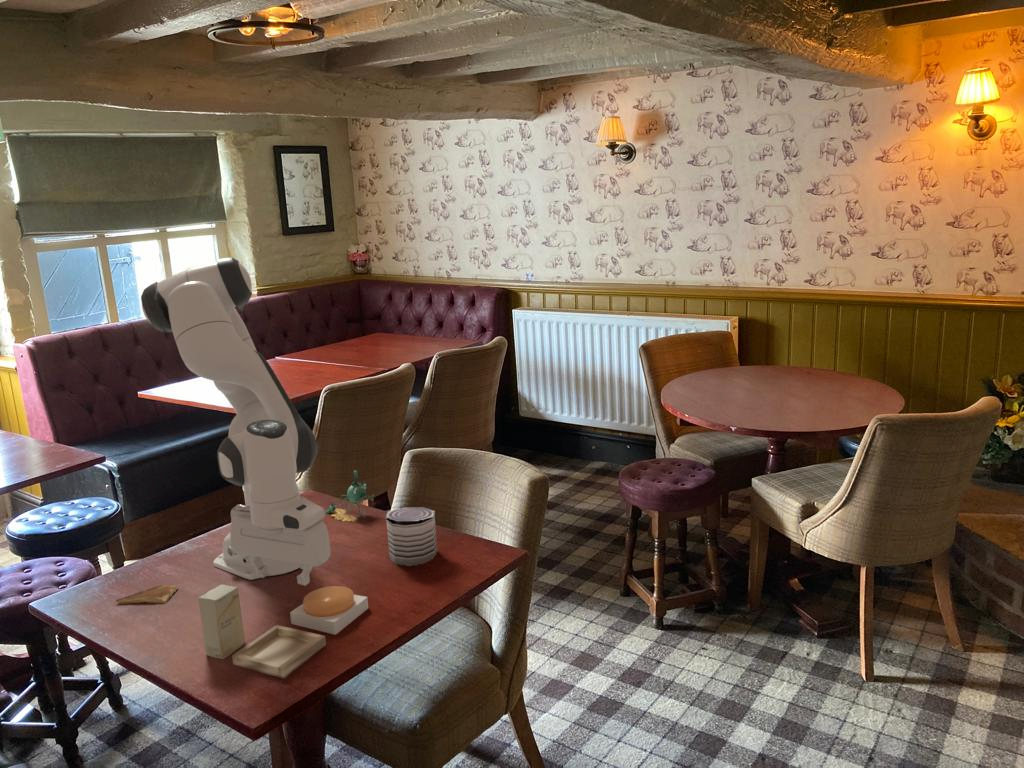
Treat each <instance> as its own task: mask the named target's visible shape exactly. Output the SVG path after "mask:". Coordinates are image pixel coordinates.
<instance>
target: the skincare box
mask: <svg viewBox="0 0 1024 768" xmlns="http://www.w3.org/2000/svg"><path fill="white" fill-rule="evenodd" d="M197 600H198V604H199V611H200V612H199V613H200V618H201V619H200V620H201V626H202V633H203V642H204V648H205V655H206V656H208V657H212V658H216V659H220V660H224V659H225V658H227V657H229V656H230V655H232V653H234V652H235V651H237V650H238V649H239V648H241V647H242V646H243V645H245V643H246V640H245V633H244V623H243V619H242V618H243V616H242V609H241V601H240V595H239V587H238V586H234V585H231V584H230V585H229V584H224V583H221V584H219V585H217V586H216V587H214V588H212V589H210V590H208V591H207V592H205V593H204V594H202V595H200V596H198V599H197Z"/></svg>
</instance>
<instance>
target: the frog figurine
mask: <svg viewBox="0 0 1024 768" xmlns="http://www.w3.org/2000/svg"><path fill="white" fill-rule="evenodd" d="M353 478H354V481H353V482H352V483H351V485H350V486H349V487H348V489H347V492H346V493H347V494H342V495H340V501H339V504H338V506H339V507H342V504H341V503H342V501H343V502H344V504H345V506H346V509H342V508H337V505H336V504H334V501H333V500H331V505H328V507H326V509H324V511H325V514H331V516H332V517H334V519H335V520H337V521H341V522H353V523H356V522H355V521H357V520H358V517H356V516H354V515H349V514H348V511H350V506H351V505H353V506H356V507H357V509H358V512H359V517H361V515H362V518H363V519H366V518H367V517H366V516H364V513H363V510H362V508H361V506H360V505H359V503H360V502H363V500H365V498H367V499H369V500H371V501H372V502H374V497H375V495H374V494H371V495H369V492H366V489H367V487H368V485H367V483H368V482H367V481H366V480H363V485H362V483H361V482H360V481H359V474H358V471H357V470H354V471H353ZM343 497H345V498H343ZM370 497H372V498H370ZM346 500H347V501H349V504H348V505H347V503H346ZM346 510H347V511H346ZM332 513H333V514H332Z"/></svg>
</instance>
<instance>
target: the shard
mask: <svg viewBox="0 0 1024 768" xmlns="http://www.w3.org/2000/svg"><path fill="white" fill-rule="evenodd" d="M177 589H178V590H179V586H178V585H162V584H161V585H158V586H154V587H152V588H149V589H148V588H147V589H145V590H142V591H139V592H136V593H133V594H131V595H128V596H125V597H122V598H119V599H115V602H117V604H118V605H125V603H126V604H142V603H143V604H145V603H144V602H147V603H146V604H152V603H153V604H165V603H167V602H168V600H169V599H170V598H171V597H172V596H173V595H174V594H175V593H176V592H177V591H178V590H177ZM176 590H177V591H176ZM174 592H175V593H174ZM173 593H174V594H173ZM172 594H173V595H172ZM169 597H170V598H169ZM141 602H142V603H141Z"/></svg>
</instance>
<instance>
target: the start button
mask: <svg viewBox="0 0 1024 768" xmlns="http://www.w3.org/2000/svg"><path fill="white" fill-rule="evenodd" d="M354 595H355V593H354V591H353V590H352V589H350V588H349V587H346V586H341V585H329V586H324V587H319V588H317V589H315V590H313V591H312V590H311V591H310V592H309V593H306V595H305V596H304V598H303V601H302V604H304V610H305V612H306V613H307V614H309V615H312V616H318V617H326V616H333V615H337V614H340V613H342V612H345V611H346V610H348V609H349V608H351V607H352V606H353V604H354Z"/></svg>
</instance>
